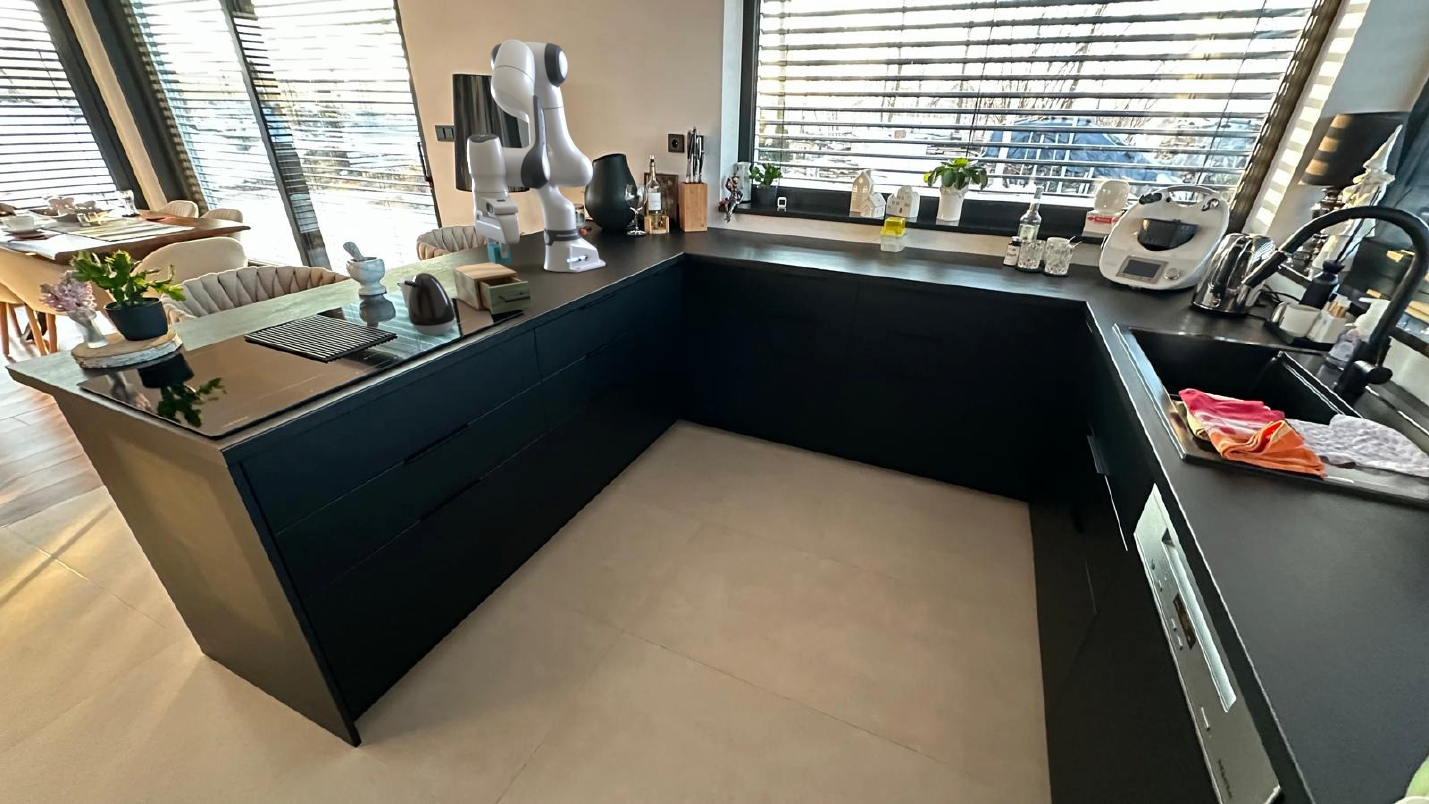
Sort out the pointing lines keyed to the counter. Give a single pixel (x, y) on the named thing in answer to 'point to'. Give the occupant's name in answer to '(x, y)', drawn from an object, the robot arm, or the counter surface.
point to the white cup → (406, 290)
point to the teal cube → (497, 254)
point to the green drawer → (504, 294)
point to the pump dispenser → (429, 305)
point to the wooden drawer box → (473, 273)
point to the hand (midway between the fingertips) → (499, 255)
